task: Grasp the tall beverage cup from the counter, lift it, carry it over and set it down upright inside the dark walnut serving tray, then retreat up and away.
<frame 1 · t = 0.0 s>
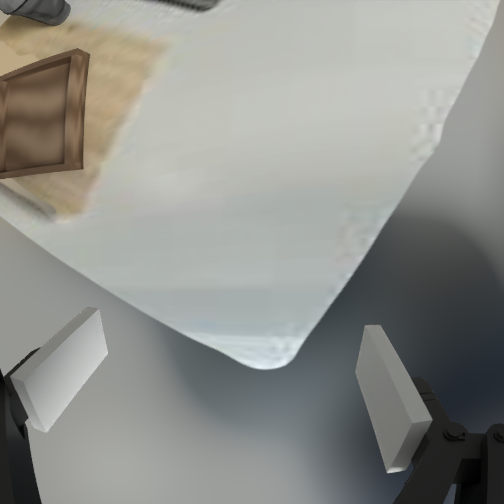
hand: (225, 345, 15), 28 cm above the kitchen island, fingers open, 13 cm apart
serving tray: (41, 118, 39), on the kitchen island
beverage cup: (60, 14, 34), on the kitchen island
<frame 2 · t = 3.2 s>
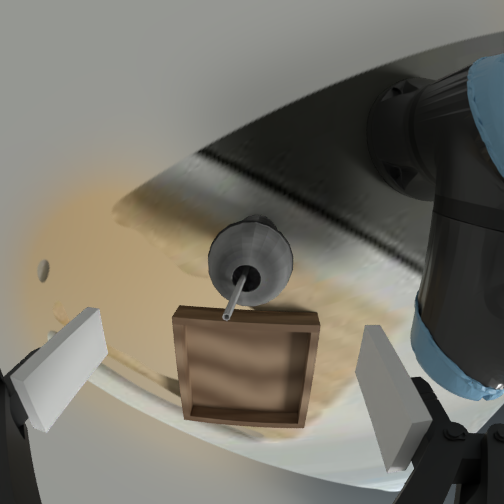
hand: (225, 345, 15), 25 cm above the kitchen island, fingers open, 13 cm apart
serving tray: (246, 366, 43), on the kitchen island
beverage cup: (257, 233, 38), on the kitchen island
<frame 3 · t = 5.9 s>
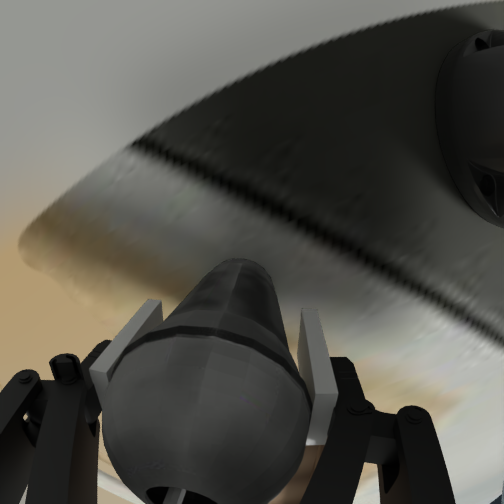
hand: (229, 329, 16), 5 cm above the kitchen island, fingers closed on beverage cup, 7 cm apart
serving tray: (228, 464, 26), on the kitchen island
beverage cup: (239, 290, 21), on the kitchen island, touching gripper
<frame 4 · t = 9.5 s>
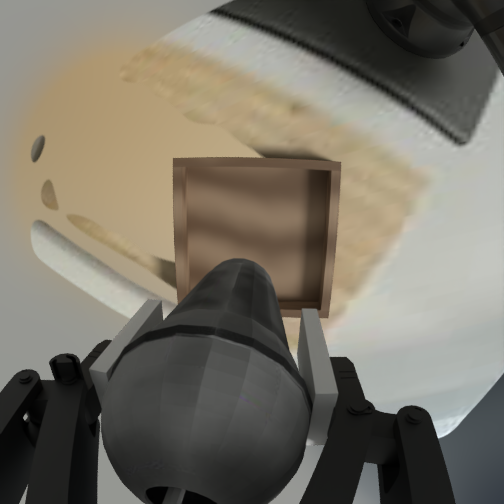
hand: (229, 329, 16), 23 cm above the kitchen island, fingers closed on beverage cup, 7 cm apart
serving tray: (255, 234, 38), on the kitchen island
beverage cup: (239, 289, 21), point 18 cm above the kitchen island, touching gripper
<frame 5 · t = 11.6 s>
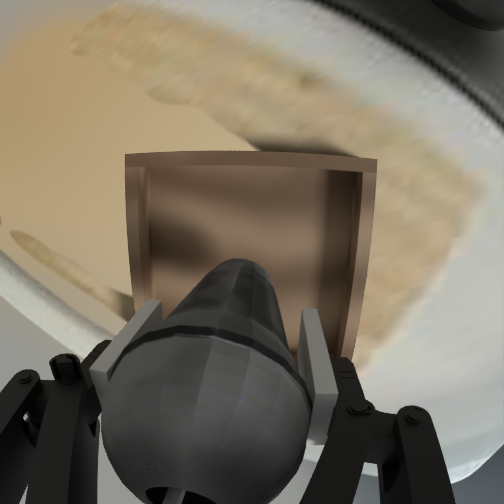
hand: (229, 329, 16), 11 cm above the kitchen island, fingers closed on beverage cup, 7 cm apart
serving tray: (248, 263, 27), on the kitchen island
beverage cup: (239, 290, 21), point 6 cm above the kitchen island, touching gripper
when the fingers open (8 cm above the kitchen island, at t = 13.2 s): beverage cup drops 1 cm, resting on serving tray.
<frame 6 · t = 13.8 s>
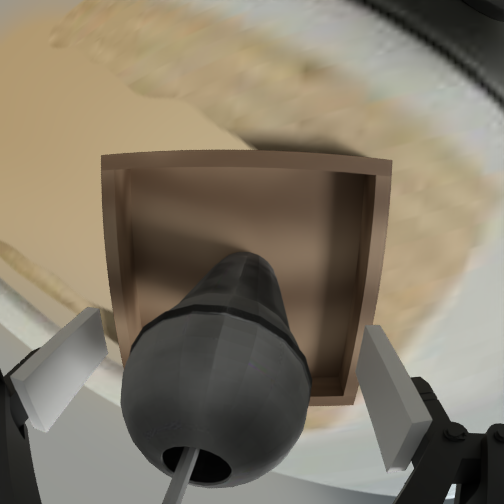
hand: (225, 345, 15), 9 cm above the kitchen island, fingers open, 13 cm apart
serving tray: (243, 278, 24), on the kitchen island
beverage cup: (244, 281, 23), point 1 cm above the kitchen island, touching serving tray
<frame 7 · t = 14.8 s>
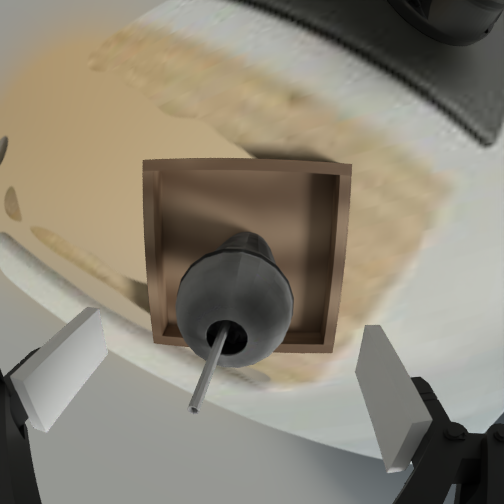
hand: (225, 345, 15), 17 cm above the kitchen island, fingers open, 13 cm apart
serving tray: (245, 252, 32), on the kitchen island
beverage cup: (246, 254, 31), point 1 cm above the kitchen island, touching serving tray
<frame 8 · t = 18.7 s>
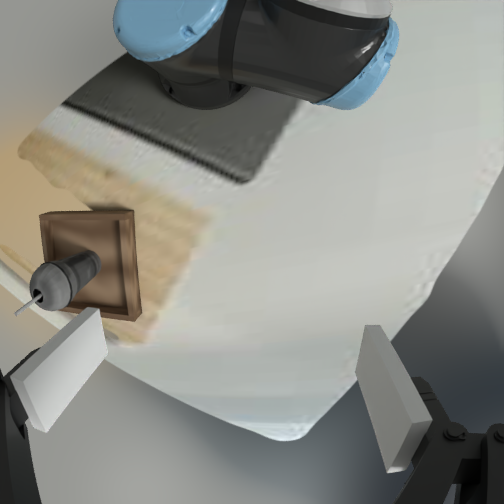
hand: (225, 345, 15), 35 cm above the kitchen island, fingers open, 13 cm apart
serving tray: (92, 261, 52), on the kitchen island
beverage cup: (91, 262, 51), point 1 cm above the kitchen island, touching serving tray
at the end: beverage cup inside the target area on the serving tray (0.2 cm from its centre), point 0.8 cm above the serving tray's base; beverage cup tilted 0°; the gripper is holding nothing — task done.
